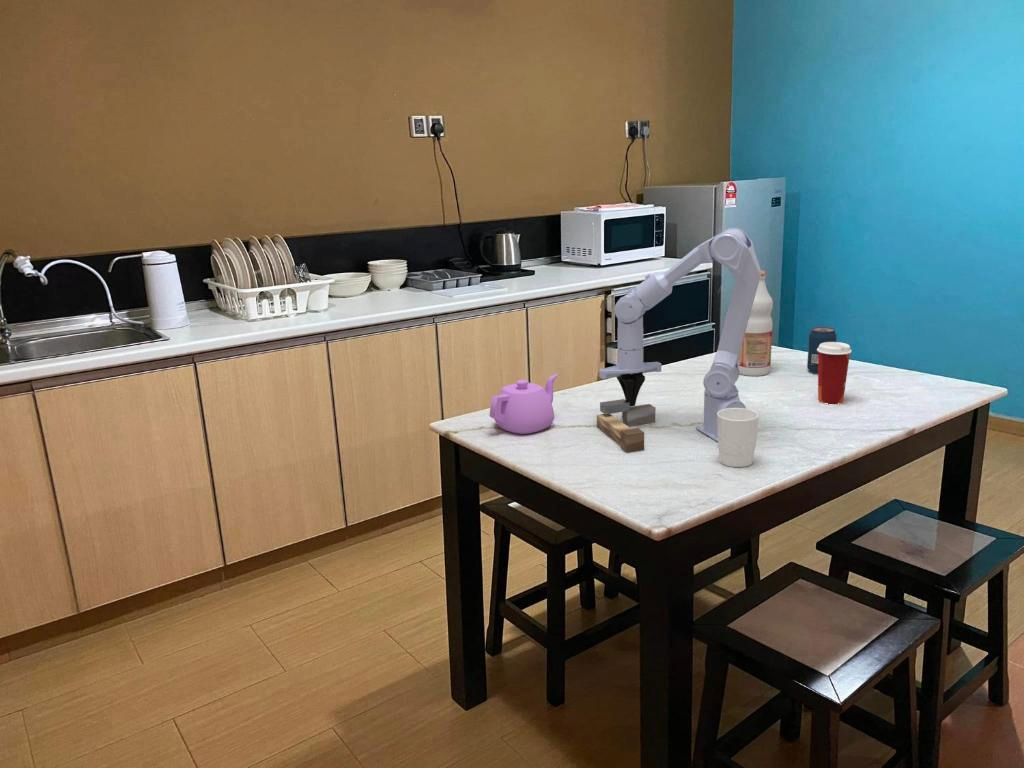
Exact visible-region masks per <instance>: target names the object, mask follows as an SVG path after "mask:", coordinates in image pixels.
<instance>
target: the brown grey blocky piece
mask: <svg viewBox="0 0 1024 768" xmlns="http://www.w3.org/2000/svg"><path fill="white" fill-rule="evenodd" d="M621 422H622V423H624V424H625V425H627V426H628V427H634V426H635V427H634V428H631V429H627V430H621V439H620V438H619V437H618V436H616V435H615V434H614V433H612V432H611V431H610V430H608V429H607V428H606V427H604V426H603V425H602V424H600V423H599V422H598V421H597V420H596V429H597V428H598V429H599V430H600V431H602V432H603V433H604V435H607V437H608V438H610V439H611V440H612V441H614V442H615V443H616V444H617V445H619V446H620V449H622V450H623V451H624V452H625V453H627V454H629V453H634V452H641V451H645V431H643V430H642V429H640V428H639V427H636V426H641V425H647V424H648V425H649V424H653V423H654V424H655V423H656V406H654V405H652V404H651V403H648V404H640V405H635V406H631V407H630V411H626V412H621Z"/></svg>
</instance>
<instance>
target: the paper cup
mask: <svg viewBox="0 0 1024 768" xmlns="http://www.w3.org/2000/svg"><path fill="white" fill-rule="evenodd" d="M817 351H818V375H817V380H818V381H817V400H819V401H820V402H823V403H828V404H827V405H829V404H837V405H839V404H838V403H841V404H843V403H844V397H845V391H846V384H847V378H848V370H849V369H848V368H849V362H850V355H851V353H852V352H853V350H852V349H851V346H850V344H848V343H844V342H841V341H839V342H838V341H836V342H825V343H821V344H820V345H819V347H818V348H817ZM819 401H818V402H819ZM820 402H819V403H820ZM842 402H843V403H842ZM823 403H822V404H823Z"/></svg>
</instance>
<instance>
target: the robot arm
mask: <svg viewBox="0 0 1024 768" xmlns="http://www.w3.org/2000/svg"><path fill="white" fill-rule="evenodd" d="M756 254H757V253H756V251H755V248H754V244H753V241H752V239H750V237H749V236H748V235H747V234H746V232H745V231H744V230H742V229H741V228H738V227H730V228H729V227H728V228H726V229H724V230H723V231H722V232H720V233H718V234H717V235H714V236H713V237H711V238H709V239H707V240H705V241H703V242H702V243H700V244H698V245H697V246H695V247H694V248H693V249H692V250H691V251H689V252H688V253H687V254H686V255H685V256H683V257H682V258H681V259H680V260H679V261H677V262H676V263H675V264H673V265H672V267H670V268H669V269H667V270H666V271H665V272H659V271H655V272H654V273H651V272H650V273H648V274H647V275H645V276H644V278H645V279H644V280H643V281H642V282H641V283H639V284H638V285H637V286H635V287H631V288H630V289H628V294H625V295H624V296H621V297H620V298H619V299H618V300H617V302H616V303H615V305H614V308H613V309H614V314H615V315H614V316H615V317H616V318H617V365H612V366H609V367H605V368H599V370H598V371H599V373H598V374H599V378H600V379H602V380H607V379H609V378H616V379H617V381H618V383H619V385H620V387H621V390H622V392H623V394H624V399H625V400H626V401H628V402H629V403H630V407H632V406H636V403H637V398H638V396H639V392H640V390H641V388H642V387H643V384H644V382H645V381H646V376H645V375H644V374H647V373H655V372H656V373H661V372H662V363H661V362H659V361H652V362H644V316H643V315H645V313H646V312H647V311H649V310H650V309H652V308H654V307H655V306H656V305H658V304H659V303H660V302H662V301H663V300H664V299H665V298H666V297H668V296H670V295H671V294H672V291H673V286H674V284H675V283H677V282H678V281H679V280H681V279H682V278H684V277H685V276H686V275H688V274H689V273H691V272H692V271H693V270H695V269H696V268H698V267H699V266H700V265H702V264H713V263H714V262H716V261H717V263H720V265H722V266H724V267H725V268H727V270H728V271H729V272H730V273H731V275H732V276H733V278H734V279H735V282H734V287H733V290H732V293H731V297H730V301H729V305H728V309H727V313H726V316H725V320H724V324H723V327H722V331H721V336H720V339H719V343H718V346H717V351H716V353H715V356H714V359H713V362H712V365H711V366H710V369H709V371H707V373H706V374H705V376H704V377H703V381H702V382H703V383H702V384H703V387H704V392H703V393H704V394H703V399H704V400H703V425H702V424H701V425H696V426H695V429H696V430H698V431H700V432H702V433H703V434H705V435H706V436H707V437H709V438H710V439H712V440H714V441H716V442H718V430H717V413H718V411H720V410H723V409H727V408H744V409H747V407H746V405H745V403H743V401H741V399H740V397H739V389H738V388H737V385H735V384H736V382H737V381H738V380H739V376H740V374H739V368H738V361H739V356H740V350H741V346H742V342H743V339H744V335H745V332H746V328H747V324H748V321H749V317H750V313H751V310H752V306H753V302H754V299H755V295H756V291H757V288H758V284H759V281H760V277H761V267H760V263H759V261H758V257H757V255H756Z"/></svg>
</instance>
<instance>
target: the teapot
mask: <svg viewBox="0 0 1024 768" xmlns="http://www.w3.org/2000/svg"><path fill="white" fill-rule="evenodd" d="M558 376H559V373H555V374H552V375H550V376H549V377H548V378H547V381H546V383H545V387H543V386H542V385H539V384H537V383H533V382H529V380H528V379H527V380H526V379H518V380H517V381H516V383H512V384H511V383H510V384H508V385H506V386H503V387H501V389H500V391H499V393H498V395H492V396H491V400H490V409H489V415H488V416H489V417H490V418H491V419H493V420H494V421H495V423H496V424H497V425H498V427H500V429H502V430H504V431H505V432H509V433H513V434H518V435H519V434H520V435H523V434H524V435H525V434H527V435H528V434H533V433H536V432H541V431H543V430H545V429H548V428H550V426H552V424H553V422H554V420H555V412H554V406H553V401H554V382H555V380H556V378H557V377H558Z"/></svg>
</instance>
